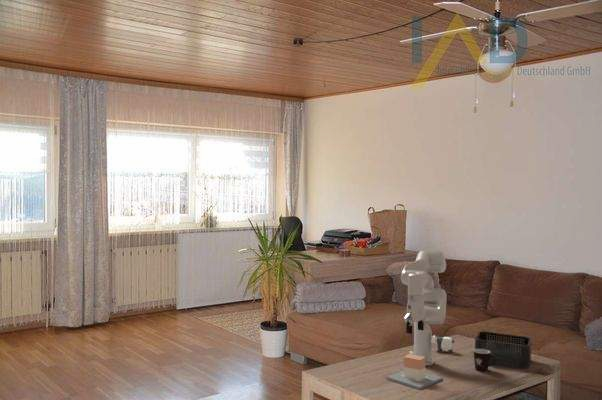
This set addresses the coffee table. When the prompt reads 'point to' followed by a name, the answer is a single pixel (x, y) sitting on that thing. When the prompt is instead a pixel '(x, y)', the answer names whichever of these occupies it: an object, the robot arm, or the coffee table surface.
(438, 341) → the giant panda
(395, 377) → the build board
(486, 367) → the coffee mug
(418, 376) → the cream block
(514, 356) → the storage bin
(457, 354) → the coffee table surface
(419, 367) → the terracotta block
